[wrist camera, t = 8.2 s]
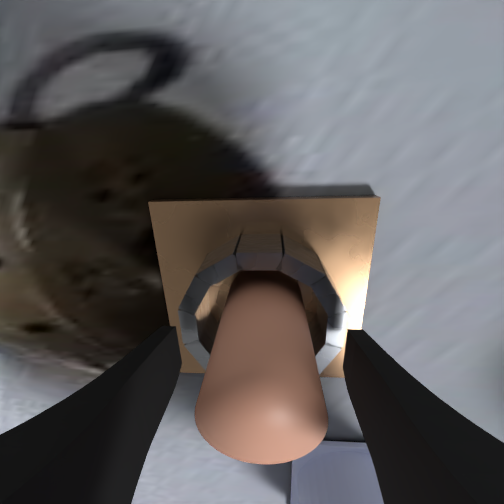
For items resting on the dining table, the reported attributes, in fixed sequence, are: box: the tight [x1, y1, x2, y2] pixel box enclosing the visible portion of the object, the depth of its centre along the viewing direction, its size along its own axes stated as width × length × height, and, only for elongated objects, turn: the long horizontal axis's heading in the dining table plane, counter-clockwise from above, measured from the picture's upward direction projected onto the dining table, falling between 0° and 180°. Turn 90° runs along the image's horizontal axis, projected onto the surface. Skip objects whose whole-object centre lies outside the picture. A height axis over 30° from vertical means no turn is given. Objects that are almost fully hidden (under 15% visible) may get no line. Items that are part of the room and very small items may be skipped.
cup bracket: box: [148, 195, 381, 378], centre depth 14 cm, size 11×11×3 cm
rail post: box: [195, 270, 328, 464], centre depth 11 cm, size 4×4×7 cm
